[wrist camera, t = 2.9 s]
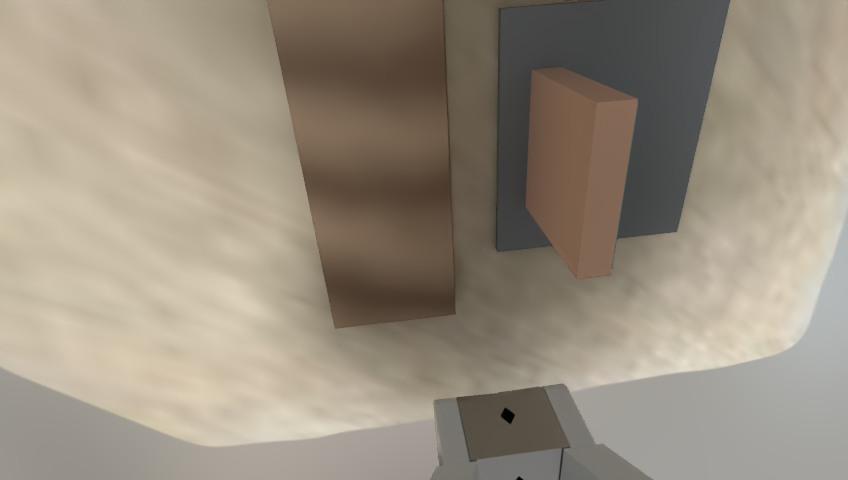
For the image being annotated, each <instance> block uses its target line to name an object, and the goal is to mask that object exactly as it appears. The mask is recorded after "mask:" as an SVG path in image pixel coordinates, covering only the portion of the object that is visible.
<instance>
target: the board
mask: <svg viewBox="0 0 848 480" xmlns="http://www.w3.org/2000/svg"><path fill="white" fill-rule="evenodd" d="M267 3H268V7H269V12H270V17H271V22H272V27H273V31H274V36H275V41H276V46H277V51H278V56H279V60H280V65H281V70H282V75H283V80H284V84H285V89H286V94H287V99H288V104H289V109H290V113H291V118H292V123H293V128H294V133H295V137H296V142H297V147H298V152H299V157H300V162H301V166H302V171H303V176H304V181H305V186H306V190H307V195H308V200H309V205H310V210H311V214H312V219H313V224H314V229H315V234H316V239H317V243H318V248H319V253H320V258H321V263H322V267H323V272H324V277H325V282H326V287H327V292H328V296H329V301H330V306H331V311H332V316H333V320H334V325H335V328H344V327H352V326H361V325H369V324H377V323H386V322H394V321H403V320H411V319H420V318H428V317H436V316H445V315H453V314H456V312H455V288H454V264H453V240H452V216H451V192H450V169H449V145H448V121H447V97H446V73H445V49H444V25H443V1H442V0H267Z"/></svg>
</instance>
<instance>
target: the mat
mask: <svg viewBox="0 0 848 480" xmlns="http://www.w3.org/2000/svg"><path fill="white" fill-rule="evenodd" d="M729 3H730V0H597V1H585V2H572V3H560V4H547V5H535V6H523V7H510V8H499V45H498V131H497V217H496V249H497V252H500V251H509V250H518V249H527V248H536V247H545V246H553V245H552V244H551V242H550V241H549V239H548V238H547V236H546V235H545V234H544V232H543V231H542V229H541V228H540V227H539V225H538V224H537V222H536V221H535V220H534V218H533V217H532V215H531V214H530V212H529V211H528V210H527V208H526V207H525V206H526V184H527V162H528V140H529V118H530V96H531V73H532V70H533V69H544V68H555V67H562V68H565V69H567V70H570V71H572V72H574V73H577V74H579V75H582V76H584V77H586V78H589V79H591V80H594V81H596V82H598V83H601V84H603V85H606V86H608V87H610V88H613V89H615V90H618V91H620V92H622V93H625V94H627V95H630V96H632V97H634V98H637V99H638V108H637V114H636V121H635V127H634V133H633V140H632V146H631V152H630V159H629V165H628V171H627V178H626V184H625V190H624V196H623V203H622V209H621V215H620V222H619V228H618V234H617V238H626V237H635V236H644V235H653V234H662V233H671V232H677V229H678V225H679V221H680V216H681V212H682V208H683V203H684V199H685V194H686V190H687V186H688V181H689V177H690V173H691V168H692V164H693V160H694V155H695V151H696V147H697V142H698V138H699V134H700V129H701V125H702V121H703V116H704V112H705V108H706V103H707V99H708V94H709V90H710V86H711V81H712V77H713V73H714V68H715V64H716V60H717V55H718V51H719V47H720V42H721V38H722V34H723V29H724V25H725V21H726V16H727V12H728V8H729Z"/></svg>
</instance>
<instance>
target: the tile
mask: <svg viewBox="0 0 848 480" xmlns="http://www.w3.org/2000/svg"><path fill="white" fill-rule="evenodd" d="M637 108H638V99H637V98H634V97H632V96H630V95H627V94H625V93H622V92H620V91H618V90H615V89H613V88H610V87H608V86H606V85H603V84H601V83H598V82H596V81H594V80H591V79H589V78H586V77H584V76H582V75H579V74H577V73H574V72H572V71H570V70H567V69H565V68H562V67H555V68H544V69H533V70H532V73H531V96H530V118H529V140H528V162H527V184H526V206H525V207H526V208H527V210H528V211H529V212H530V214H531V215H532V217H533V218H534V220H535V221H536V222H537V224H538V225H539V227H540V228H541V229H542V231H543V232H544V234H545V235H546V236H547V238H548V239H549V241H550V242H551V244H552V245H553V246H554V248H555V249H556V251H557V252H558V253H559V255H560V256H561V258H562V259H563V260H564V262H565V263H566V265H567V266H568V268H569V269H570V270H571V272H572V273H573V275H574V276H575V277H576V279H582V278H590V277H599V276H608V275H610V274H611V269H612V266H613V259H614V253H615V247H616V241H617V234H618V228H619V222H620V215H621V209H622V203H623V196H624V190H625V184H626V178H627V171H628V165H629V159H630V152H631V146H632V140H633V133H634V127H635V121H636V114H637Z"/></svg>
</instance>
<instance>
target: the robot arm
mask: <svg viewBox="0 0 848 480" xmlns="http://www.w3.org/2000/svg"><path fill="white" fill-rule="evenodd" d="M433 404H434V417H435V429H436V439H437V450H438V458H439V466H437V467H436V469H435V471H434V473H433V475H432V477H431V479H430V480H653V479H652V478H650V477H649V476H647V475H646V474H645V473H643V472H641V471H640V470H639V469H638V468H636V467H635V466H633V465H632V464H631V463H629V462H628V461H626V460H625V459H624V458H622V457H621V456H619V455H618V454H617V453H615V452H614V451H612V450H611V449H610V448H608V447H607V446H605V445H604V444H596V443H595V441H594V439H593V437H592V435H591V433H590V431H589V429H588V427H587V425H586V423H585V421H584V419H583V417H582V415H581V414H580V412H579V410H578V408H577V406H576V404H575V402H574V400H573V398H572V396H571V394H570V392H569V390H568V388H567V387H566V386H565V385H564V384H557V385H550V386H542V387H533V388H526V389H519V390H512V391H505V392H498V393H494V394H484V395H474V396H465V397H456V398H448V399H439V400H434V402H433Z"/></svg>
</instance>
